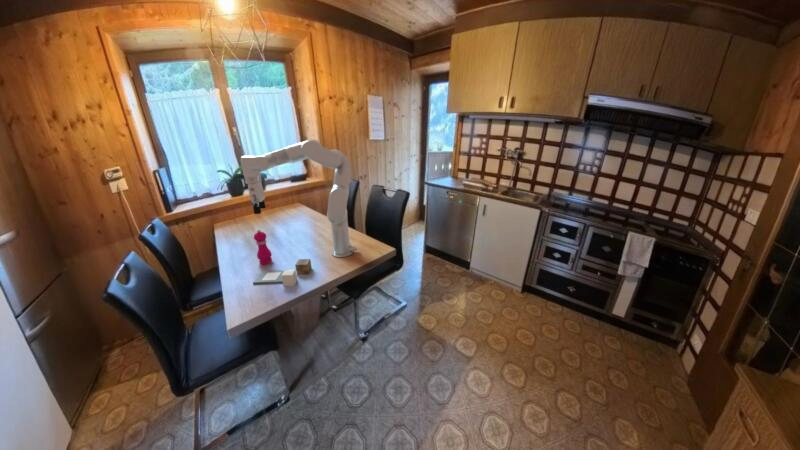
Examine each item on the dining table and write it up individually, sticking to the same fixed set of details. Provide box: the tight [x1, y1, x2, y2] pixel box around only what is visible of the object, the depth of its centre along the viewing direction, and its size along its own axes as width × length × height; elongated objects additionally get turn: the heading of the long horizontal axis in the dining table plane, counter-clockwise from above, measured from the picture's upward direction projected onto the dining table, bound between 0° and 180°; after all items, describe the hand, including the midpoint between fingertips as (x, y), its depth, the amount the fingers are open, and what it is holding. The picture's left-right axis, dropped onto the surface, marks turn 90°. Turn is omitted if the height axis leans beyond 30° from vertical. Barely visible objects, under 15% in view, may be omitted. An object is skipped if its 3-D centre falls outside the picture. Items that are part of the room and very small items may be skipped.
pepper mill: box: [253, 229, 273, 266], centre depth 146 cm, size 7×7×20 cm
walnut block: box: [294, 258, 312, 276], centre depth 138 cm, size 6×6×6 cm
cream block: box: [281, 268, 298, 287], centre depth 129 cm, size 5×5×6 cm
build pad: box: [252, 270, 285, 285], centre depth 134 cm, size 14×10×1 cm
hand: (260, 210), depth 144 cm, fingers open, 9 cm apart
